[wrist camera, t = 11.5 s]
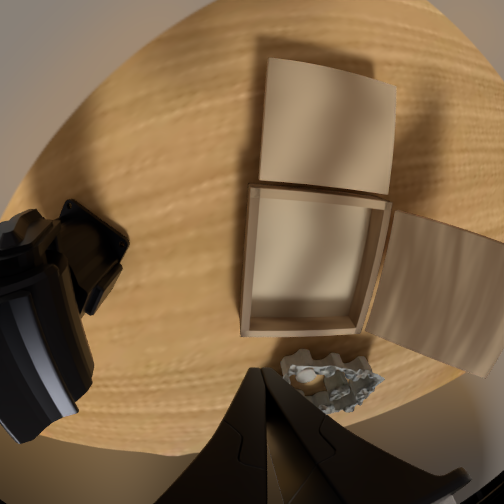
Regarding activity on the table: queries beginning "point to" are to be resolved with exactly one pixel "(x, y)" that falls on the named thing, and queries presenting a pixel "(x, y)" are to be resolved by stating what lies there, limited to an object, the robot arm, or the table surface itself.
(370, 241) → the carton
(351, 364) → the egg carton
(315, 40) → the table surface
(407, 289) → the flap
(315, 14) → the table surface
